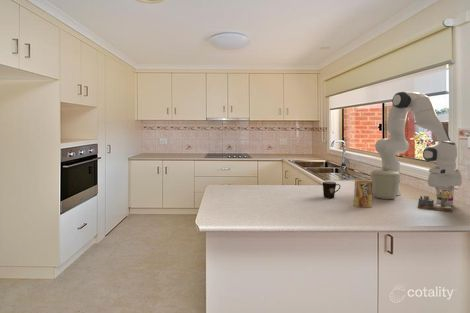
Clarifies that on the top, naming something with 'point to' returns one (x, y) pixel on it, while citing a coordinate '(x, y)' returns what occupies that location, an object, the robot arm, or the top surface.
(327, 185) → the coffee mug
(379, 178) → the canister
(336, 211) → the top surface
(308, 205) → the top surface
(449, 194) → the brass gear
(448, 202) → the supplement can
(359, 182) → the candy box
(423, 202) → the gear
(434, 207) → the gear board
